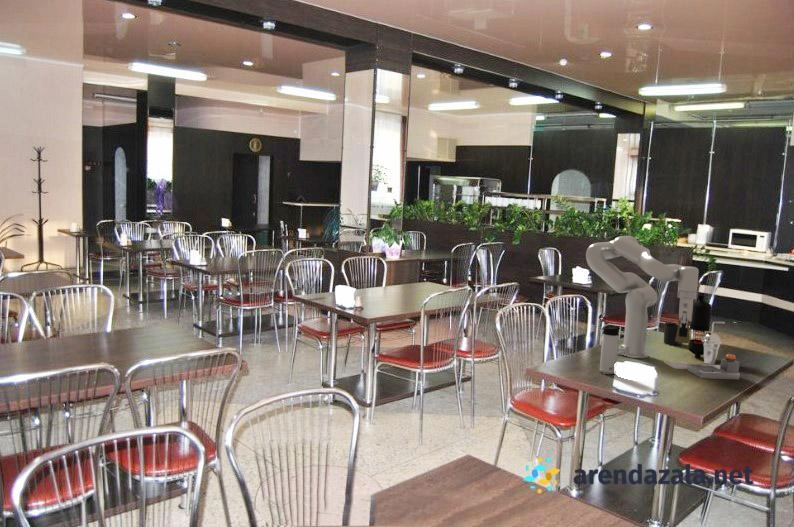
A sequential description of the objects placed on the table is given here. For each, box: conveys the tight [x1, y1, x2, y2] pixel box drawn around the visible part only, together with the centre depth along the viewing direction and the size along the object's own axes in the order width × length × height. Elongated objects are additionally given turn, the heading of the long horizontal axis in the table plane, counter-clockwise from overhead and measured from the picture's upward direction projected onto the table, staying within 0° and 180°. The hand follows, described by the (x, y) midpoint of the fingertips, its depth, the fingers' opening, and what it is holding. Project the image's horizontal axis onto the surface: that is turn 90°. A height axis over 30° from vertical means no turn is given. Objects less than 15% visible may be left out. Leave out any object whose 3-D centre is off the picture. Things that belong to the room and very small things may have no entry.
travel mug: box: [599, 325, 621, 375], centre depth 251 cm, size 6×7×20 cm
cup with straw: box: [700, 321, 726, 365], centre depth 273 cm, size 8×9×20 cm
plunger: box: [725, 353, 737, 361], centre depth 253 cm, size 4×4×6 cm
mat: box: [663, 360, 690, 370], centre depth 268 cm, size 10×10×1 cm
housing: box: [686, 358, 741, 380], centre depth 256 cm, size 16×12×7 cm
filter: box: [687, 295, 712, 359], centre depth 283 cm, size 14×9×30 cm
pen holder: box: [663, 322, 683, 347], centre depth 308 cm, size 9×9×10 cm
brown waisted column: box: [675, 318, 691, 344], centre depth 266 cm, size 6×6×11 cm
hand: (683, 335), depth 266 cm, fingers closed on brown waisted column, 3 cm apart
